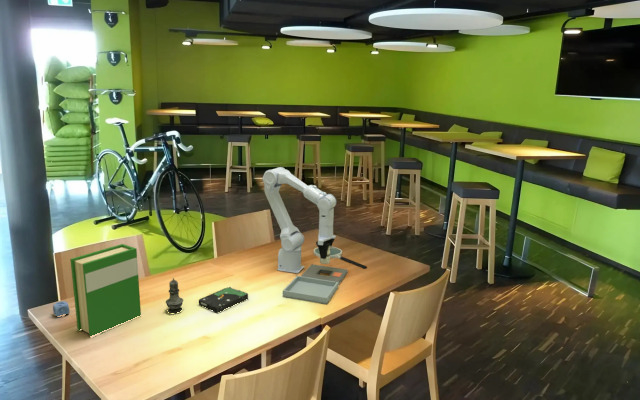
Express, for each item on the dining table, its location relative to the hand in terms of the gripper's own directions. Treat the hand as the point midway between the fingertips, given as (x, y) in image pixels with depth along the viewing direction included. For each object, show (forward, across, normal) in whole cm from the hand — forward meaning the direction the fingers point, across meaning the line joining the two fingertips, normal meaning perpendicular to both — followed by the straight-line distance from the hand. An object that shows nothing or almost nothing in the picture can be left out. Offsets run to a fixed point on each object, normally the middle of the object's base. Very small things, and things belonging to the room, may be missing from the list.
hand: (325, 256), depth 194 cm
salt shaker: (+9, -48, +39) cm, 62 cm away
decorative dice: (+9, -64, +72) cm, 97 cm away
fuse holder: (+9, 0, 0) cm, 9 cm away
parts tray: (+9, -17, 0) cm, 19 cm away
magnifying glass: (+10, +22, -1) cm, 24 cm away
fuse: (+2, 0, 0) cm, 2 cm away
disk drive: (+9, -36, +27) cm, 46 cm away
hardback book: (+9, -63, +53) cm, 83 cm away
